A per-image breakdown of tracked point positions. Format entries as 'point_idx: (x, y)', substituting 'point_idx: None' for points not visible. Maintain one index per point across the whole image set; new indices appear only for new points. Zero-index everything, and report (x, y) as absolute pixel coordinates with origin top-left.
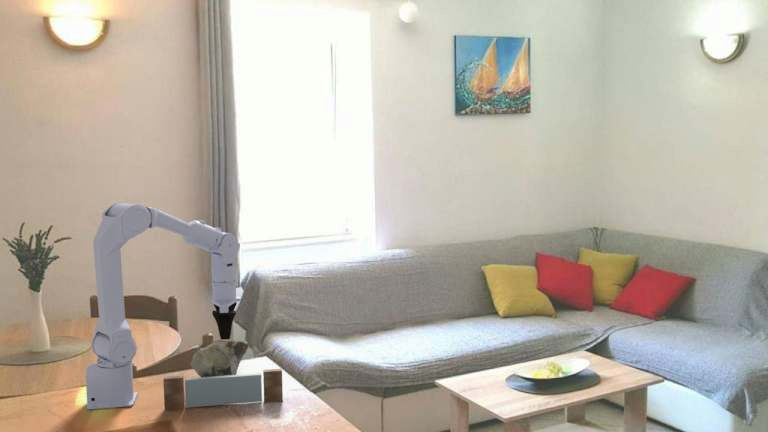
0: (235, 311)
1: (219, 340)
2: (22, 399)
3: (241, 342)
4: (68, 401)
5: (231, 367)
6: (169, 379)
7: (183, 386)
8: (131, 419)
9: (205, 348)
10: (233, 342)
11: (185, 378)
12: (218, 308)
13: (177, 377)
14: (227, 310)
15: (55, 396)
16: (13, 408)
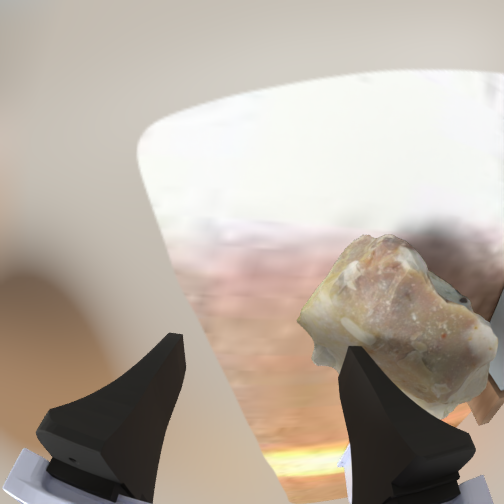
0: (445, 458)
1: (453, 390)
2: (299, 499)
3: (433, 288)
4: (334, 477)
5: (443, 288)
6: (494, 413)
7: (494, 382)
8: (460, 409)
9: (450, 408)
10: (494, 335)
11: (501, 390)
12: (150, 482)
13: (500, 404)
14: (484, 488)
15: (304, 486)
16: (329, 498)
